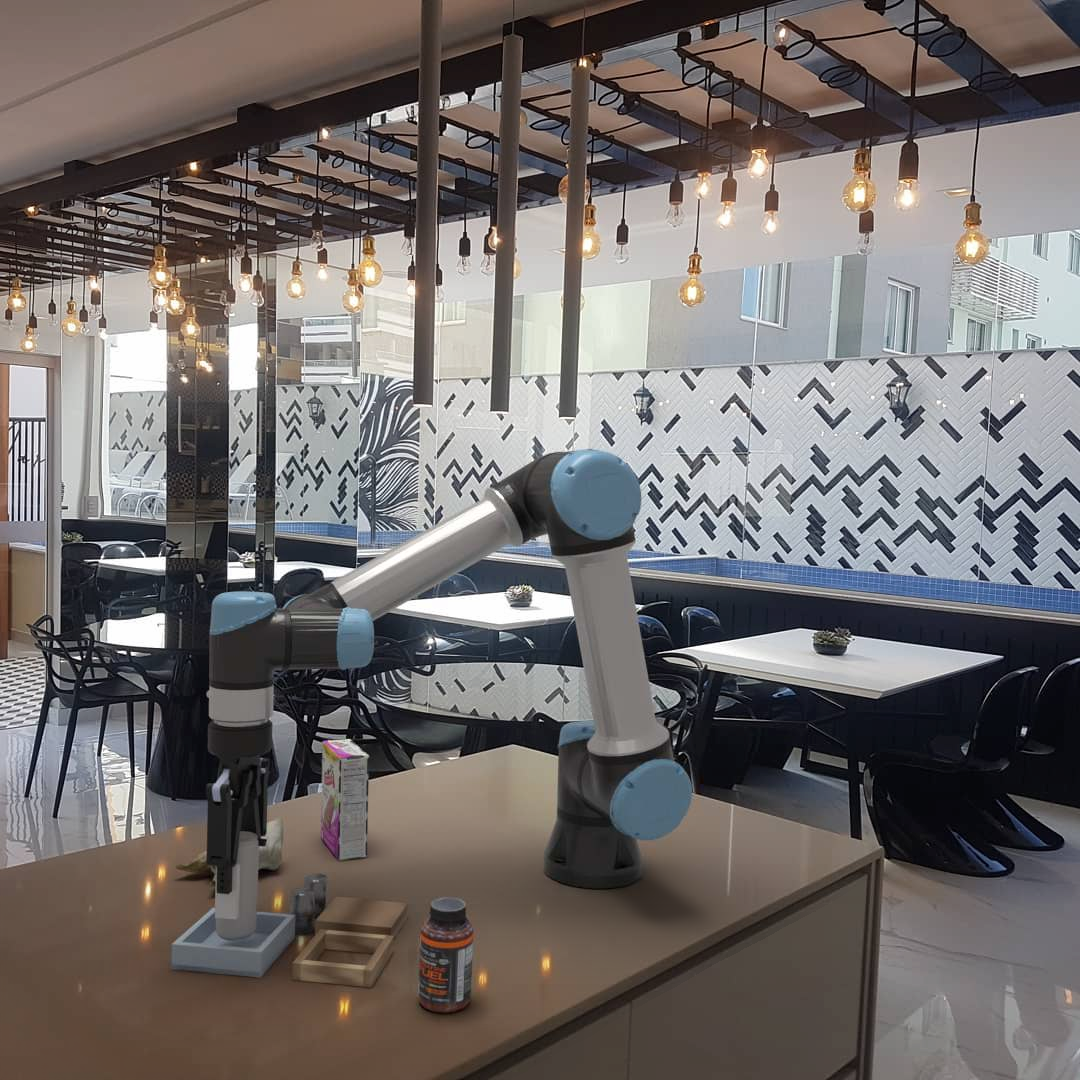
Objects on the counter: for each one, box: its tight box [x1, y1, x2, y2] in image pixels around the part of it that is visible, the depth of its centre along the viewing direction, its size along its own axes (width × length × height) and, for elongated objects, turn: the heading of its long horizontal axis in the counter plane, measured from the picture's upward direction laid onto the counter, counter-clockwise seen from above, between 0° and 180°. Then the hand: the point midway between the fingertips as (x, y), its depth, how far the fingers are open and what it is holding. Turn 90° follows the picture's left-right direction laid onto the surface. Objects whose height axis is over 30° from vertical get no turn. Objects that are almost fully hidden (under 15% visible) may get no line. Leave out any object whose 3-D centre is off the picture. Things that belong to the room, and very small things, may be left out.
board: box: [314, 896, 409, 939], centre depth 135 cm, size 10×8×2 cm
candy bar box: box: [320, 738, 370, 862], centre depth 164 cm, size 11×5×16 cm, turn 26°
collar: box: [291, 929, 395, 988], centre depth 124 cm, size 10×10×2 cm
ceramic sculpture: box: [175, 817, 284, 887], centre depth 151 cm, size 11×9×15 cm
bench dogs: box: [289, 873, 328, 936], centre depth 136 cm, size 3×8×5 cm, turn 173°
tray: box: [170, 907, 296, 979], centre depth 126 cm, size 11×11×3 cm
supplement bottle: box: [417, 896, 474, 1014], centre depth 116 cm, size 6×6×11 cm
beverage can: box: [216, 831, 259, 941], centre depth 126 cm, size 5×5×12 cm
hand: (236, 907), depth 126 cm, fingers closed on beverage can, 5 cm apart
